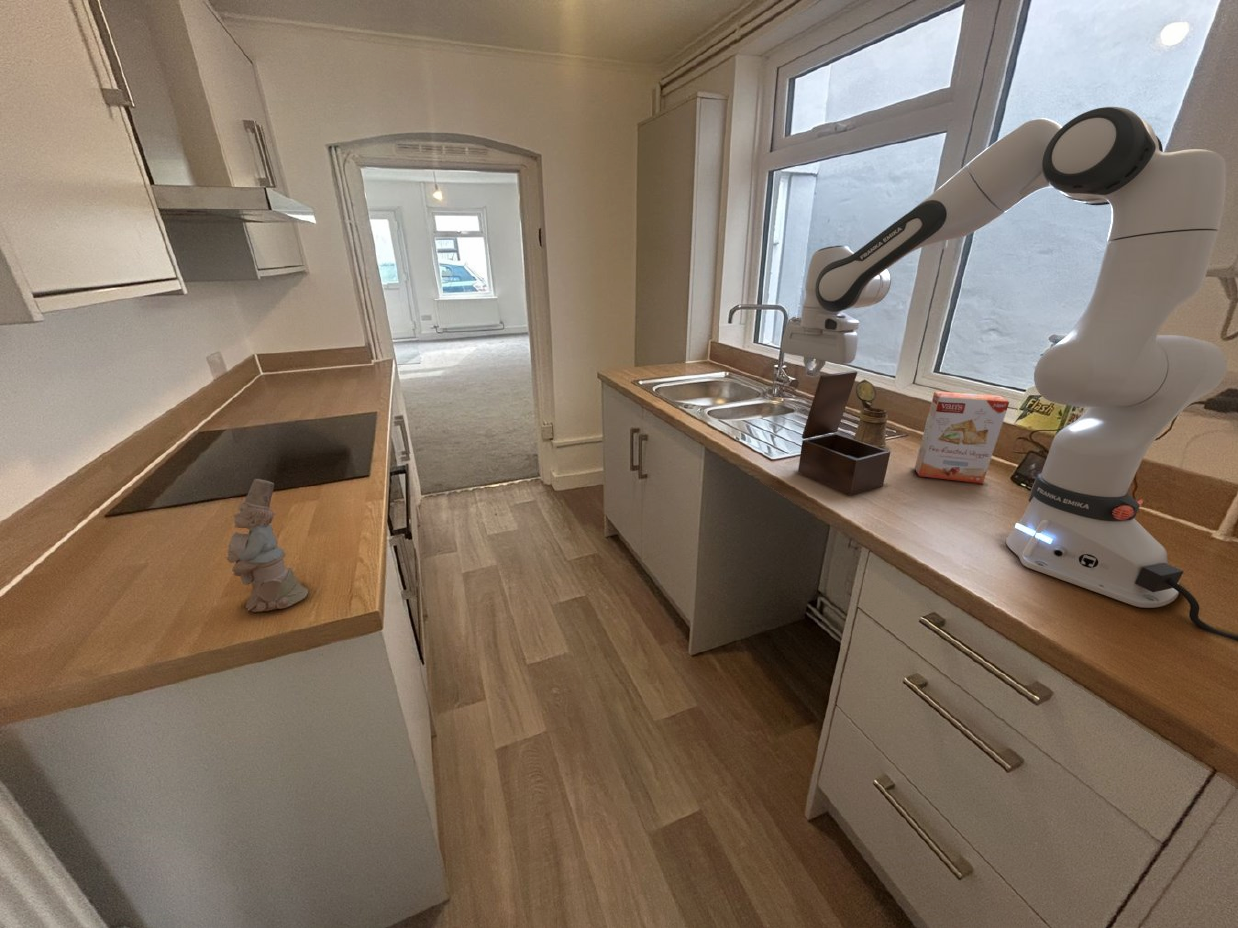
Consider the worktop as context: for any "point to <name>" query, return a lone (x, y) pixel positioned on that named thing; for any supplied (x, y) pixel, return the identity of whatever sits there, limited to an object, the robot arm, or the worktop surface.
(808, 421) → the lid
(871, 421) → the wooden mug
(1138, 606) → the robot arm
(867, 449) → the chest
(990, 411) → the cracker box
